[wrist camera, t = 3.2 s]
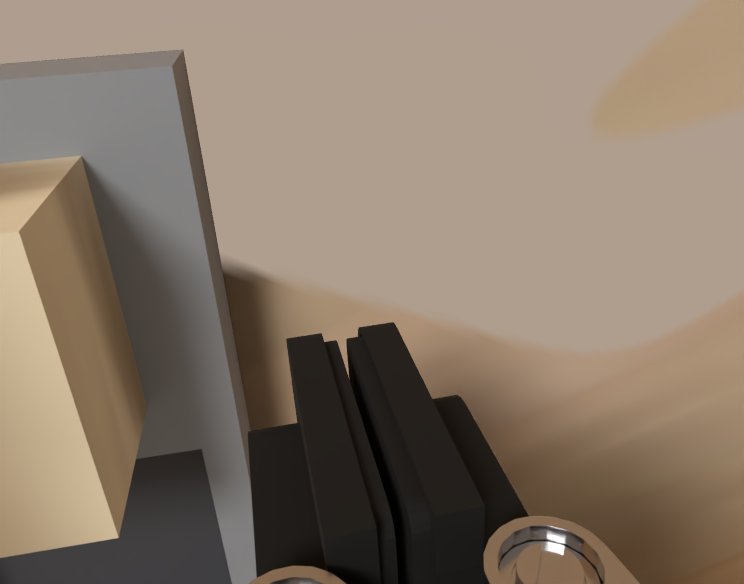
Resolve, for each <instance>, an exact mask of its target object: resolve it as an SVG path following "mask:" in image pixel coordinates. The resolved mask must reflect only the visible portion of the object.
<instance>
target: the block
mask: <svg viewBox="0 0 744 584" xmlns="http://www.w3.org/2000/svg"><path fill="white" fill-rule="evenodd" d="M146 410H147V403H146V399H145V395H144V391H143V388H142V384H141V380H140V376H139V373H138V369H137V365H136V361H135V357H134V354H133V350H132V346H131V342H130V338H129V335H128V331H127V327H126V323H125V320H124V316H123V312H122V308H121V304H120V301H119V297H118V293H117V289H116V285H115V282H114V278H113V274H112V270H111V266H110V263H109V259H108V255H107V251H106V248H105V244H104V240H103V236H102V232H101V229H100V225H99V221H98V217H97V213H96V210H95V206H94V202H93V198H92V195H91V191H90V187H89V183H88V179H87V176H86V172H85V168H84V164H83V160H82V157H81V156H74V157H64V158H54V159H43V160H33V161H23V162H12V163H2V164H0V558H3V557H9V556H15V555H21V554H26V553H32V552H38V551H44V550H50V549H56V548H62V547H68V546H74V545H80V544H86V543H92V542H98V541H104V540H110V539H115V538H119V534H120V530H121V525H122V521H123V516H124V511H125V507H126V502H127V497H128V493H129V488H130V484H131V479H132V474H133V470H134V465H135V461H136V456H137V451H138V447H139V442H140V438H141V433H142V428H143V424H144V419H145V415H146Z"/></svg>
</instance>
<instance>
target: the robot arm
mask: <svg viewBox="0 0 744 584" xmlns="http://www.w3.org/2000/svg"><path fill="white" fill-rule="evenodd" d="M287 348H288V356H289V363H290V371H291V378H292V385H293V393H294V400H295V408H296V415H297V422H298V423H295V424H289V425H283V426H278V427H272V428H266V429H261V430H255V431H249V432H248V449H249V464H250V480H251V496H252V512H253V527H254V543H255V559H256V575H257V578H256V579H254V580H252V581H251V582H250V583H249V584H640V583H639V582H638V581H637V580H636V578H635V577H634V576H633V575H632V574H631V573H630V572H629V571H628V569H627V568H626V567H625V566H624V565H623V564H622V563H621V562H620V560H619V559H618V558H617V557H616V556H615V555H614V554H613V552H612V551H611V550H610V549H609V548H608V547H607V546H606V545H605V544H604V543H603V542H602V541H601V540H600V539H599V538H597V537H596V536H595V535H594V534H593V533H592V532H591V531H589V530H587V529H585V528H583V527H581V526H579V525H577V524H576V523H574V522H571V521H568V520H564V519H560V518H557V517H553V516H534V515H533V516H528V514H527V512H526V510H525V509H524V507H523V505H522V503H521V502H520V500H519V498H518V496H517V495H516V493H515V491H514V489H513V487H512V486H511V484H510V482H509V480H508V479H507V477H506V475H505V473H504V472H503V470H502V468H501V466H500V464H499V463H498V461H497V459H496V457H495V456H494V454H493V452H492V450H491V449H490V447H489V445H488V443H487V441H486V440H485V438H484V436H483V434H482V433H481V431H480V429H479V427H478V426H477V424H476V422H475V420H474V418H473V417H472V415H471V413H470V411H469V410H468V408H467V406H466V404H465V403H464V401H463V400H462V398H461V397H459V396H457V395H454V396H449V397H443V398H437V399H432V398H431V396H430V394H429V392H428V389H427V387H426V385H425V383H424V381H423V379H422V377H421V375H420V373H419V371H418V369H417V367H416V365H415V363H414V361H413V359H412V357H411V355H410V353H409V351H408V349H407V347H406V345H405V343H404V341H403V339H402V337H401V335H400V333H399V331H398V329H397V327H396V325H395V324H394V323H393V322H391V323H385V324H378V325H372V326H366V327H359V329H358V337H354V338H348V339H347V356H348V367H349V377H348V374H347V371H346V368H345V365H344V362H343V359H342V355H341V352H340V349H339V346H338V343H337V341H336V340H335V341H329V342H324V340H323V336H322V334H321V333H320V334H314V335H307V336H301V337H294V338H288V339H287ZM349 379H350V381H349Z"/></svg>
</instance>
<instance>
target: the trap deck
mask: <svg viewBox="0 0 744 584" xmlns="http://www.w3.org/2000/svg"><path fill="white" fill-rule="evenodd" d="M74 156H81V157H82V160H83V164H84V168H85V172H86V176H87V179H88V183H89V187H90V191H91V195H92V198H93V202H94V206H95V210H96V213H97V217H98V221H99V225H100V229H101V232H102V236H103V240H104V244H105V248H106V251H107V255H108V259H109V263H110V266H111V270H112V274H113V278H114V282H115V285H116V289H117V293H118V297H119V301H120V304H121V308H122V312H123V316H124V320H125V323H126V327H127V331H128V335H129V338H130V342H131V346H132V350H133V354H134V357H135V361H136V365H137V369H138V373H139V376H140V380H141V384H142V388H143V391H144V395H145V399H146V403H147V410H146V415H145V419H144V424H143V428H142V433H141V438H140V442H139V447H138V451H137V456H136V461H135V465H134V470H133V474H132V479H131V484H130V488H129V493H128V497H127V502H126V507H125V511H124V516H123V521H122V525H121V530H120V534H119V538H115V539H110V540H104V541H98V542H92V543H86V544H80V545H74V546H68V547H62V548H56V549H50V550H44V551H38V552H32V553H26V554H21V555H15V556H9V557H3V558H0V584H249V583H250V582H251V581H252V580H254V579H256V578H257V575H256V559H255V543H254V527H253V512H252V496H251V480H250V464H249V449H248V432H249V431H251V429H250V424H249V418H248V412H247V407H246V401H245V396H244V390H243V384H242V379H241V373H240V367H239V362H238V356H237V351H236V345H235V339H234V334H233V328H232V322H231V317H230V311H229V306H228V300H227V294H226V289H225V283H224V277H223V272H222V266H221V261H220V255H219V249H218V244H217V238H216V232H215V227H214V221H213V215H212V211H211V205H210V199H209V193H208V187H207V182H206V176H205V171H204V165H203V159H202V154H201V148H200V142H199V138H198V131H197V126H196V121H195V114H194V109H193V103H192V97H191V92H190V86H189V80H188V75H187V69H186V64H185V58H184V52H183V50H173V51H160V52H148V53H135V54H122V55H109V56H96V57H83V58H71V59H58V60H45V61H33V62H20V63H7V64H0V164H2V163H12V162H23V161H33V160H43V159H54V158H64V157H74Z"/></svg>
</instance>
